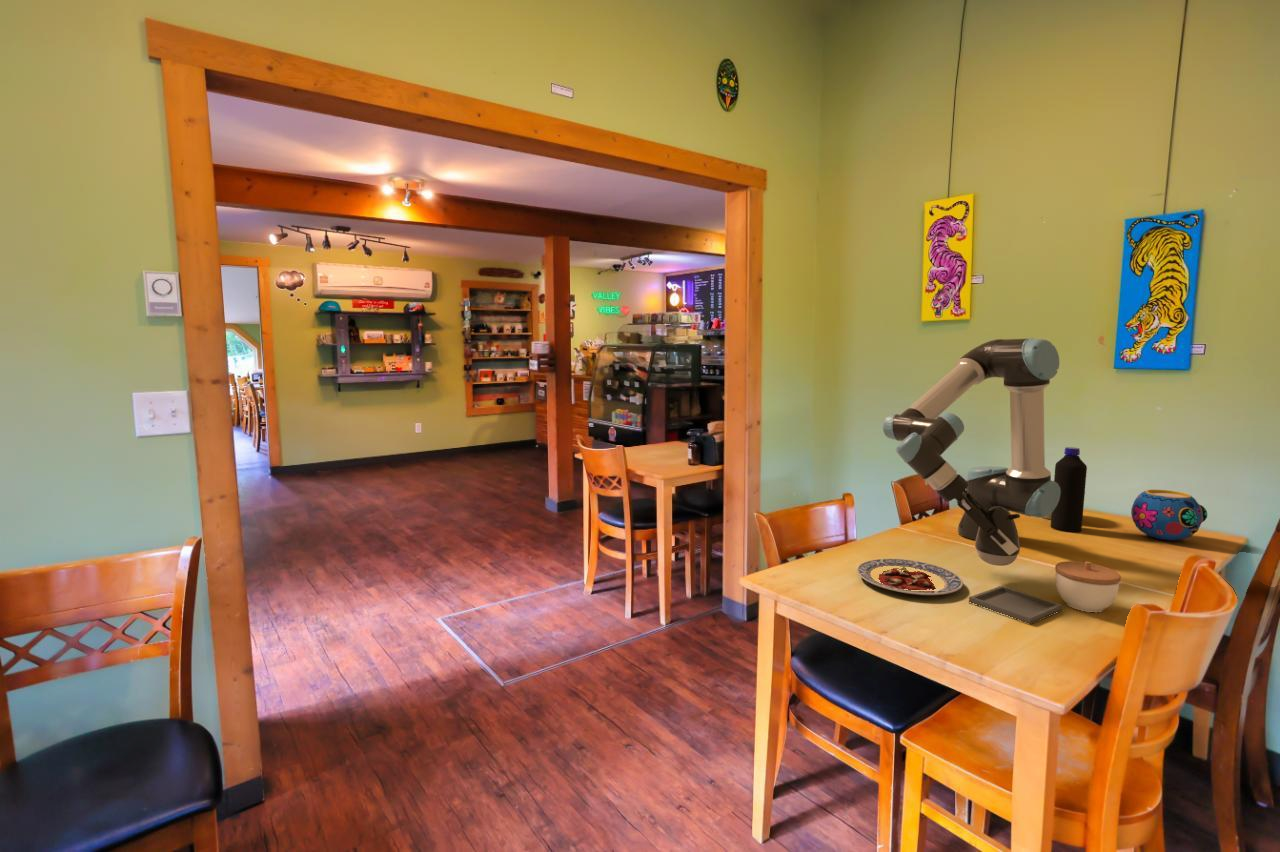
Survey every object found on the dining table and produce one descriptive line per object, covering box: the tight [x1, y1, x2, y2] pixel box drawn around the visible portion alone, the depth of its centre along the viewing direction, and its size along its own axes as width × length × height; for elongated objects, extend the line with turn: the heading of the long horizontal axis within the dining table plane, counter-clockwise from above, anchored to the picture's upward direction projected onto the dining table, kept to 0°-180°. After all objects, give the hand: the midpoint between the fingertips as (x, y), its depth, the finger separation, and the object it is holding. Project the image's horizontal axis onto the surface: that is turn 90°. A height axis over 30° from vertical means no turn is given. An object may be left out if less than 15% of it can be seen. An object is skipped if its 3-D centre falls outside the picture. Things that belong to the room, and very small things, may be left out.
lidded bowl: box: [1054, 560, 1122, 614], centre depth 148 cm, size 13×13×11 cm
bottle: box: [1050, 446, 1088, 533], centre depth 210 cm, size 9×9×28 cm
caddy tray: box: [968, 585, 1063, 625], centre depth 148 cm, size 14×14×2 cm
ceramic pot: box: [1130, 489, 1208, 542], centre depth 200 cm, size 18×18×15 cm
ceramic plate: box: [856, 558, 964, 596], centre depth 164 cm, size 26×26×3 cm
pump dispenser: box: [974, 506, 1021, 567], centre depth 163 cm, size 10×10×15 cm
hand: (1011, 545), depth 162 cm, fingers closed on pump dispenser, 10 cm apart
